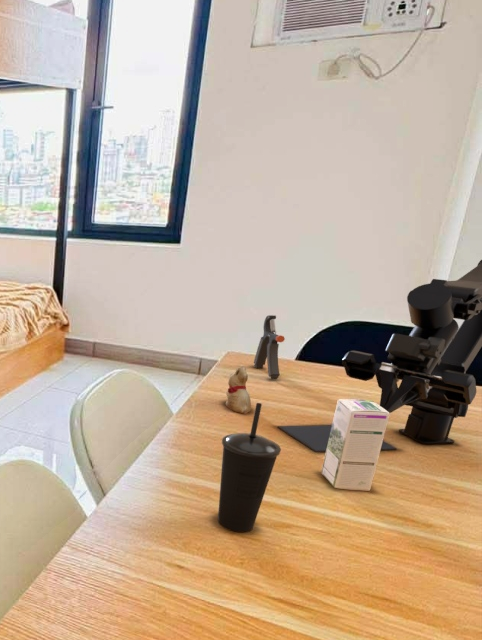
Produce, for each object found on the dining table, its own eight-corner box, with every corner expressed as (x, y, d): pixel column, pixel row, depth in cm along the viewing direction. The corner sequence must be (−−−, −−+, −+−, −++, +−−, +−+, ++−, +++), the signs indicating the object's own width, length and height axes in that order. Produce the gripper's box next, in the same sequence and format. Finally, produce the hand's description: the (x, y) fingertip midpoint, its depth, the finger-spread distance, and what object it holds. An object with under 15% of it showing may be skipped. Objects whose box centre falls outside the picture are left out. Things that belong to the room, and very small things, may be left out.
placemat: (351, 425, 132) (352, 424, 132) (396, 449, 121) (396, 448, 121) (277, 427, 132) (277, 426, 132) (315, 452, 120) (315, 450, 120)
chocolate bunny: (252, 403, 145) (260, 362, 141) (249, 414, 138) (257, 372, 135) (225, 399, 147) (232, 359, 144) (221, 410, 141) (228, 368, 138)
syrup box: (371, 491, 106) (393, 412, 101) (332, 488, 107) (352, 409, 102) (355, 476, 111) (375, 399, 106) (318, 473, 112) (336, 397, 107)
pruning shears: (270, 381, 159) (281, 323, 154) (252, 366, 171) (262, 312, 166) (279, 381, 159) (291, 323, 154) (261, 366, 171) (271, 312, 165)
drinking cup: (258, 515, 99) (283, 397, 92) (267, 541, 92) (295, 416, 86) (205, 508, 102) (226, 392, 95) (210, 532, 95) (233, 410, 88)
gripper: (359, 307, 114) (315, 375, 112) (491, 327, 99) (442, 406, 97) (369, 342, 120) (327, 407, 119) (494, 366, 106) (448, 441, 104)
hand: (381, 414), depth 109 cm, fingers closed
